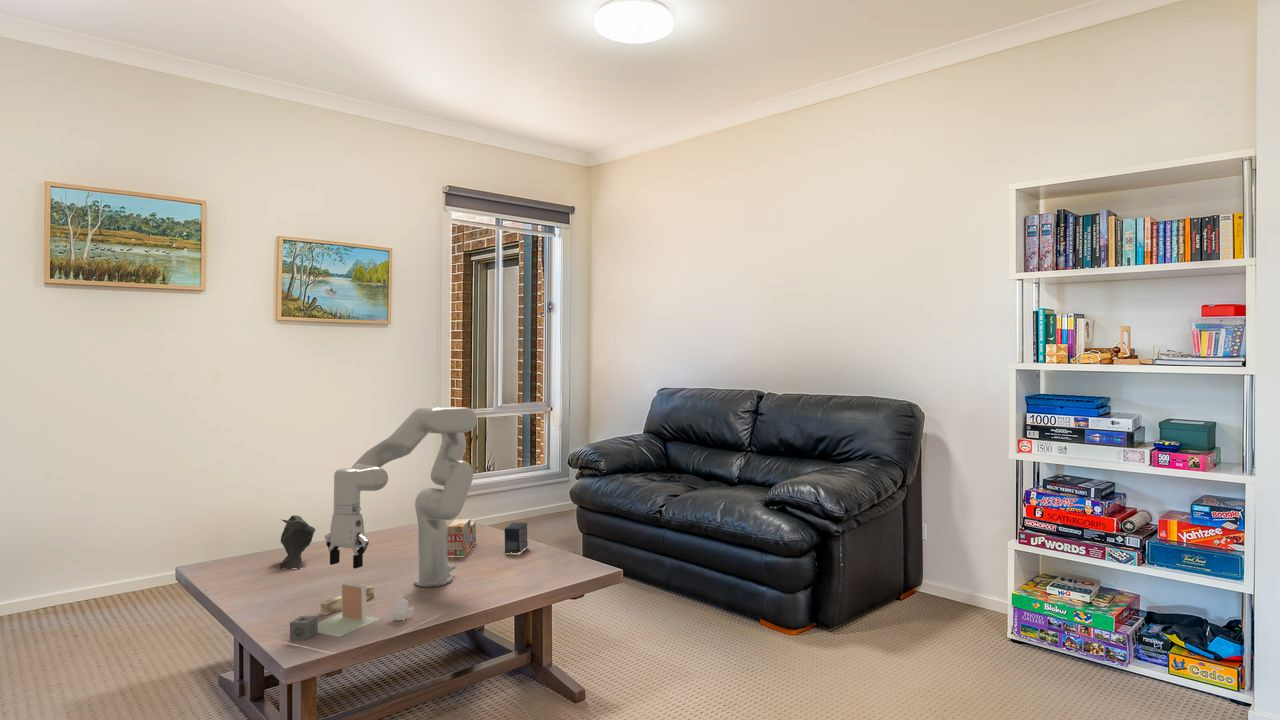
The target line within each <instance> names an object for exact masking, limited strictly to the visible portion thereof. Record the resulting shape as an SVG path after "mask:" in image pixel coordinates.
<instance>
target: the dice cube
mask: <svg viewBox="0 0 1280 720" xmlns="http://www.w3.org/2000/svg"><path fill="white" fill-rule="evenodd" d="M318 621H319V617H318V616H313V615H312V616H311V615H308V616H307V615H300V616H298V617H296V618H294V619H293V620H292V621H290V622H289V639H290V641H291V640H295V641H296V640H298V641H299V640H300V641H308V640H310V639H311V638H313V637H314V636H316V635H317V634H319V633H318V623H319V622H318Z"/></svg>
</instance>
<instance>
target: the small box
mask: <svg viewBox="0 0 1280 720" xmlns="http://www.w3.org/2000/svg"><path fill="white" fill-rule="evenodd" d="M528 542H529V541H528V522H511V523H510V524H509V525H507V526H506V527H504V554H505V553H511V552H512V553H518V552H521V551H522V550H523V549H524V548H526V547H527V546H528V544H529V543H528ZM528 547H529V546H528Z"/></svg>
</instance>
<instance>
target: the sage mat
mask: <svg viewBox="0 0 1280 720" xmlns="http://www.w3.org/2000/svg"><path fill="white" fill-rule="evenodd" d="M366 618H367V620H365V621H363V622H362V621H357V620H352V619H347V618H342V612H341V613H339V614H337V615H335V616H332V617H329V618H327V619H324V620H322V621H319V622H318V633H317V634H323V635H327V636H332V637H337V638H339V637H342V636H344V635H347V634H349V633H351V632H353V631H356V630H358V629H360V628H362V627H365V626H367V625H369V624H372V623H374V622H377V621H379V620H380V618H377V617H373V616H372V617H371V616H368V615H366Z"/></svg>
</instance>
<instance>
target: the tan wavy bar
mask: <svg viewBox="0 0 1280 720" xmlns="http://www.w3.org/2000/svg"><path fill="white" fill-rule="evenodd" d="M373 598H375V586H374V585H373V586H372V585H366V601H368V600H370V599H373ZM339 611H342V594H341V595H338V596H336V597H333V598H331V599H330V598H329V599H328V600H325V601H322V602H320V615H323V616H329V615H331V614H334V613H336V612H339Z"/></svg>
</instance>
